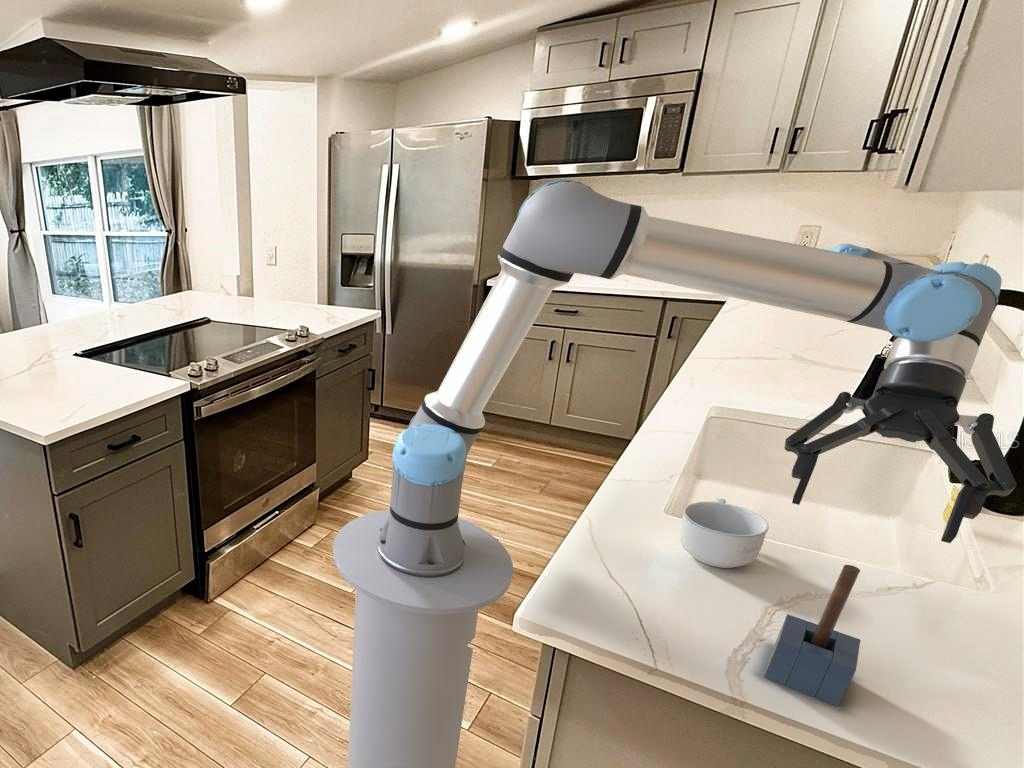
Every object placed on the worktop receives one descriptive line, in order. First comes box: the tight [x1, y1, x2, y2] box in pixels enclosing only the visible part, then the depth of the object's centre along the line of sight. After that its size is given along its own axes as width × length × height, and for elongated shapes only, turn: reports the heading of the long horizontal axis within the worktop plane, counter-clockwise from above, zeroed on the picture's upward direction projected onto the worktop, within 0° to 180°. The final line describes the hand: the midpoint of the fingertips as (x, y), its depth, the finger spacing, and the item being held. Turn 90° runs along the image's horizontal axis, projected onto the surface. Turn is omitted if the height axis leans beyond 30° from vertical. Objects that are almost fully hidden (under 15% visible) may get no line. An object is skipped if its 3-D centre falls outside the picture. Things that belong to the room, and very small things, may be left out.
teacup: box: [679, 497, 769, 569], centre depth 102 cm, size 14×11×8 cm
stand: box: [764, 613, 861, 708], centre depth 78 cm, size 7×7×6 cm
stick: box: [810, 564, 861, 649], centre depth 75 cm, size 1×1×17 cm
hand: (867, 518), depth 77 cm, fingers open, 13 cm apart
